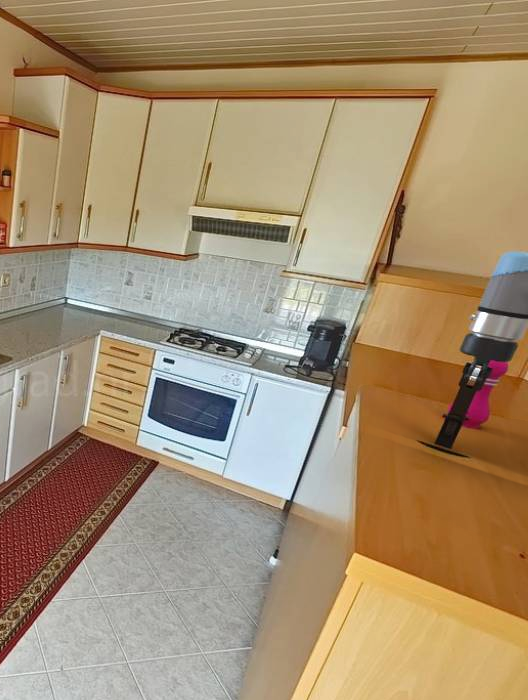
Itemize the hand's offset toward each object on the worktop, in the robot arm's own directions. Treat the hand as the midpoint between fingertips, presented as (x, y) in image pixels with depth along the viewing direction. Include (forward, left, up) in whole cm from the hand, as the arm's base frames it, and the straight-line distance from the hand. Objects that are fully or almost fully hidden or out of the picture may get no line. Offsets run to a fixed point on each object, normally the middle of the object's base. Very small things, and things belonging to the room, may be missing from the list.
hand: (441, 448), depth 100 cm
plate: (0, -7, -1) cm, 7 cm away
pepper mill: (-2, -23, -1) cm, 23 cm away
